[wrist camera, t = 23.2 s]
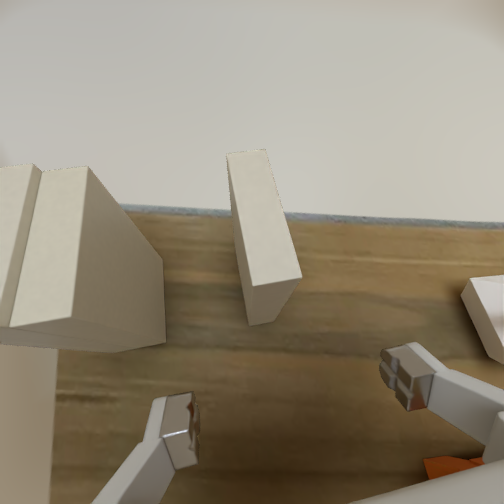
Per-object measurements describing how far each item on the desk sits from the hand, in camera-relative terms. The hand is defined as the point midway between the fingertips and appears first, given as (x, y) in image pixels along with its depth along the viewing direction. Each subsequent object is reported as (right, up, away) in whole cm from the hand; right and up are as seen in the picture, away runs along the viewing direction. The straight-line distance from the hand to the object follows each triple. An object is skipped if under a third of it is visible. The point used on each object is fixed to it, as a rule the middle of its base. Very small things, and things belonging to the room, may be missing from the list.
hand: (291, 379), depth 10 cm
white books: (-13, 0, +15) cm, 20 cm away
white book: (-2, +2, +16) cm, 17 cm away
